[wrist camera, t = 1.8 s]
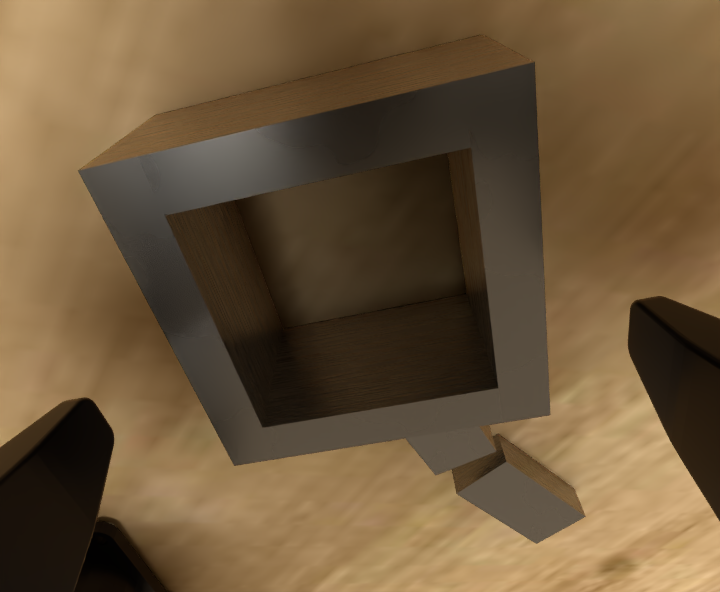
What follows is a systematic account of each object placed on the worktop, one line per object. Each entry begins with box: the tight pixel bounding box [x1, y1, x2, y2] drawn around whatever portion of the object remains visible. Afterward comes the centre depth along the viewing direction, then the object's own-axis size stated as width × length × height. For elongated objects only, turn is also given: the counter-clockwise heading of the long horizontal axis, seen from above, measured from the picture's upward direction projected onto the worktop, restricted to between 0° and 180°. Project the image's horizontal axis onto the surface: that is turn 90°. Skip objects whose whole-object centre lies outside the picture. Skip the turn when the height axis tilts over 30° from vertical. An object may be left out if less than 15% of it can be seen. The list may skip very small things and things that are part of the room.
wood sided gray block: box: [452, 434, 586, 544], centre depth 17 cm, size 4×2×1 cm, turn 48°
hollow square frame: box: [78, 35, 550, 466], centre depth 11 cm, size 7×7×4 cm
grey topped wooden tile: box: [406, 425, 496, 475], centre depth 15 cm, size 4×2×1 cm, turn 32°
